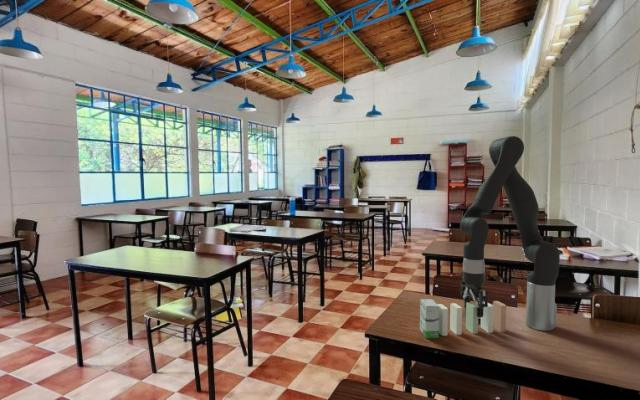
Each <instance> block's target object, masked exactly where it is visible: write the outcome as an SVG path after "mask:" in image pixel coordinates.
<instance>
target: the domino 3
mask: <svg viewBox="0 0 640 400" xmlns="http://www.w3.org/2000/svg"><path fill="white" fill-rule="evenodd" d="M478 318H479V317H477V305H476V303H473V302H472V301H471V302H468V303H466V316H465V330H467V331H469V332H470V333H471V334H476V335H477V334H478V333H479V323H478Z"/></svg>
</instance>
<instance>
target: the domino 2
mask: <svg viewBox="0 0 640 400" xmlns="http://www.w3.org/2000/svg"><path fill="white" fill-rule="evenodd" d="M449 307H450V309H449V314H450V315H449V330H450V331H451V332H453V333H454V335H456V336H461V335H462V333H463V332H462V329H463V327H462V326H463V307H462V306H460V305H459V304H457V303H456V302H455V303H452V302H451V303H450V306H449Z"/></svg>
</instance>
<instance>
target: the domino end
mask: <svg viewBox="0 0 640 400" xmlns="http://www.w3.org/2000/svg"><path fill="white" fill-rule="evenodd" d="M492 305H493V306H494V318H493V329H494V328H495V330H497V331H498V332H500V333H503V332H506V331H507V330H506V329H507V327H506V326H507V325H506V324H507V305H506V304H505V303H503V302H501V301H499V300H493V301H492Z"/></svg>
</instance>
